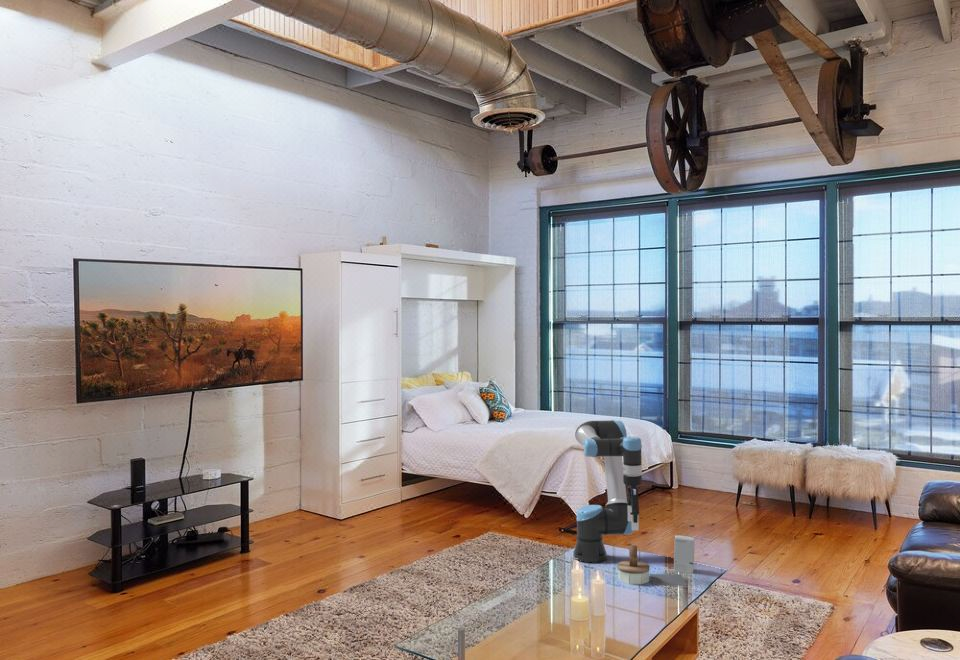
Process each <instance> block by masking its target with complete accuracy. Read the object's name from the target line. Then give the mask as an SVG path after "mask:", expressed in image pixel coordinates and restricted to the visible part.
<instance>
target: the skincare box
mask: <svg viewBox="0 0 960 660" xmlns="http://www.w3.org/2000/svg"><path fill="white" fill-rule="evenodd" d="M673 540H674V541H673V542H674V543H673V544H674V546H673V549H674V550H673V572H674V573H686V574H694V569H695V567H694V566H695V537H694V536H687V535H678V534H676V535H674V539H673Z"/></svg>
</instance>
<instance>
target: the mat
mask: <svg viewBox="0 0 960 660" xmlns="http://www.w3.org/2000/svg"><path fill="white" fill-rule="evenodd" d="M649 577H650V578H651V581H652V582H653V585H654V586H682V587H683V586H684V587H685V586H688V583H687V582H686V581H685V579H684V577H683V576H682V574H675V573H672V574H668V573H667V574H665V573H649Z"/></svg>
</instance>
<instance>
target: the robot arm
mask: <svg viewBox="0 0 960 660" xmlns="http://www.w3.org/2000/svg"><path fill="white" fill-rule="evenodd" d="M574 434H575V435H574V436H575V439H576V442H578V444H580V445H581V446H583V452H584V456H585V457H588V458H589V457H591V458H595V457H596V458H598V457H603V461H604V469H605V470H604V473H605V481H606V482H605V483H606V493H607V502H606V504H605V507H604V508H603V506H602V505H599V504H588V505H583V506H581V507H579V508H578V509H577V511H576V542H575V546H574V549H573V556H574V557H575V558H578V559H579V560H581V561H584V562H583V563H587V562H592V563H591V564H593V563H594V564H595V563H596V564H597V563H602V562H605V561H606V560H607V559H608V556H607V555H608V554H607V551H606V550H607V549H606V547H605V545H604V542H603V541H604V537H603V536H615V535H616V536H619V535H620V536H621V535H622V536H625V535H632V534H633V533H634V531H639V530H640V529H639V528H640V527H639V525H640V521H639V519H640V518H639V515H640V507H639V506H640V505H639V489H638V487H637V486H641V485H642V483H643V476H642V473H643V467H642V466H643V465H642V449H643V445H642V438H640V437H638V436H628V433H627V428H626V426H625V424H624V422H623V421H621V420H615V419H613V420H612V419H611V420H590V421H589V420H588V421H585V422H583V423H581V424H580V425H579V426H578V427H577V428H576V430H575V433H574ZM626 486H627V488H626ZM574 557H573V558H574ZM581 561H580V562H581Z"/></svg>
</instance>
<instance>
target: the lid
mask: <svg viewBox="0 0 960 660" xmlns="http://www.w3.org/2000/svg"><path fill="white" fill-rule="evenodd" d="M628 548H629V549H628V551H629V553H628V555H629V557H628V558H629V560H622V561H619V562H618V563H617V570H618V569H619V570H620V571H622V572H625V573H631V574H641V573H646V572H648V571H649V572H650V565H649V564H648V563H646V562H644V561H639V560H638V545H635V544H634V545H633V544H631V545H629V547H628Z"/></svg>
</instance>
